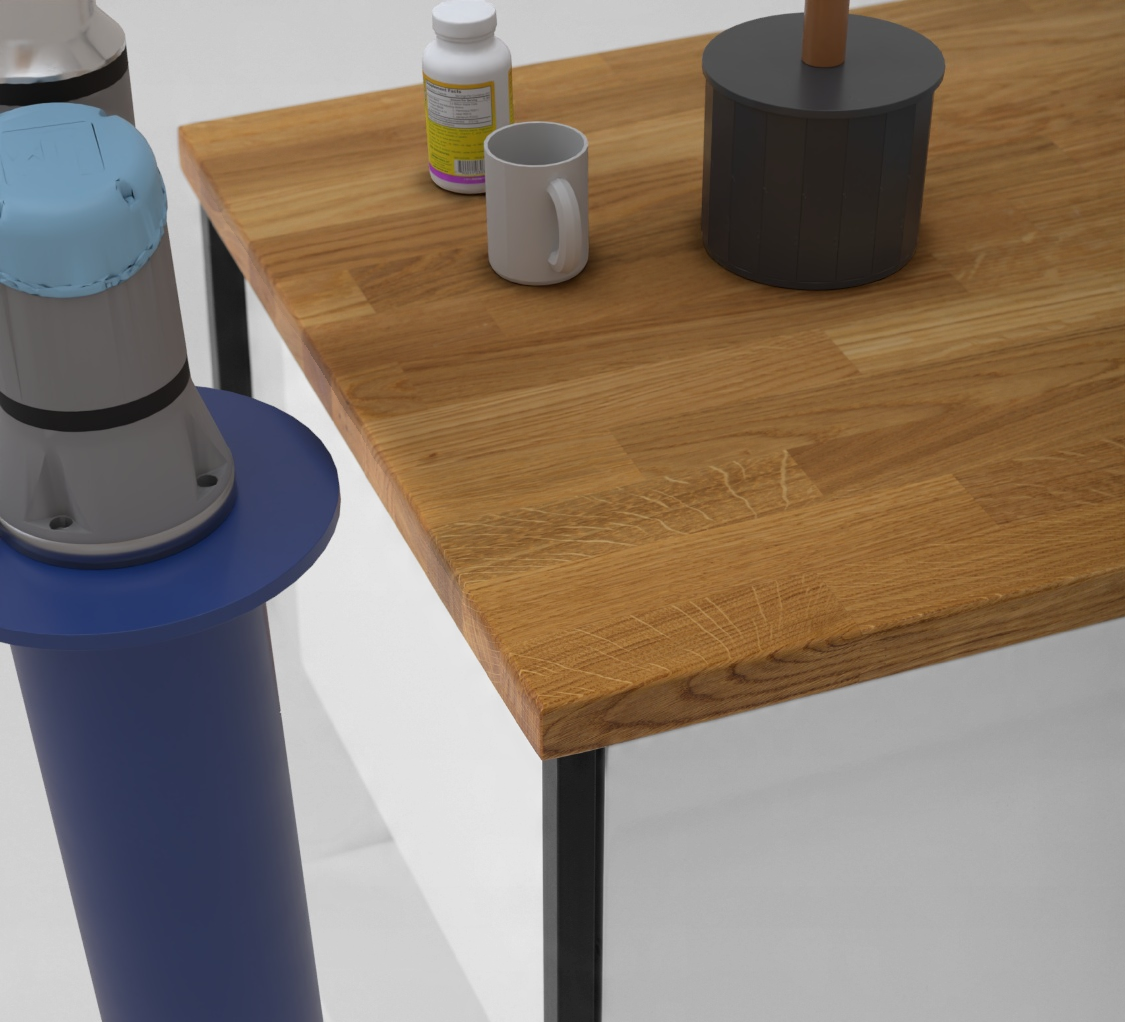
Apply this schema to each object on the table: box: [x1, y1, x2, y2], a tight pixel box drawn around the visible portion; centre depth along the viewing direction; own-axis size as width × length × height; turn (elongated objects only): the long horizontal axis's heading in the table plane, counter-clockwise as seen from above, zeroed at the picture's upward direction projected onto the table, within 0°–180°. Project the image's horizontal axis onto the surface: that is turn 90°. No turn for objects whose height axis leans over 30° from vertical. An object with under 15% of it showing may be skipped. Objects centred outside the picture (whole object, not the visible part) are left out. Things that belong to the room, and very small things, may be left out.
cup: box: [484, 120, 590, 286], centre depth 146 cm, size 7×10×9 cm
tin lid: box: [701, 0, 946, 119], centre depth 141 cm, size 17×17×10 cm
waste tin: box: [700, 79, 936, 291], centre depth 148 cm, size 16×16×13 cm
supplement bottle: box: [421, 0, 515, 195], centre depth 156 cm, size 7×7×13 cm
